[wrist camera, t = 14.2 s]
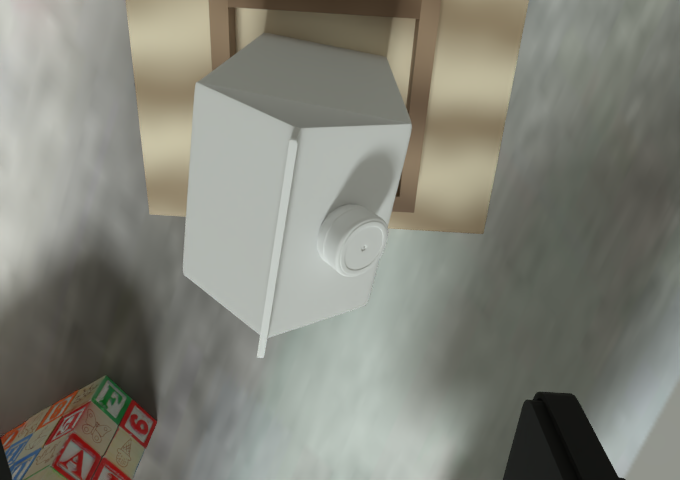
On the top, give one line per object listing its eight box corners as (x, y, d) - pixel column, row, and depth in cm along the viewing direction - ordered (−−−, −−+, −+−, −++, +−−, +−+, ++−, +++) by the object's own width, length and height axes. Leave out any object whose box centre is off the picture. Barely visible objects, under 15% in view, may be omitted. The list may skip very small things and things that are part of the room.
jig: (479, 226, 37) (489, 246, 34) (155, 207, 37) (140, 226, 34) (529, -38, 30) (547, -39, 27) (126, -64, 29) (104, -67, 27)
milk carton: (249, 151, 34) (144, 340, 17) (263, 30, 30) (151, 111, 13) (362, 172, 34) (372, 377, 17) (387, 55, 31) (431, 164, 14)
